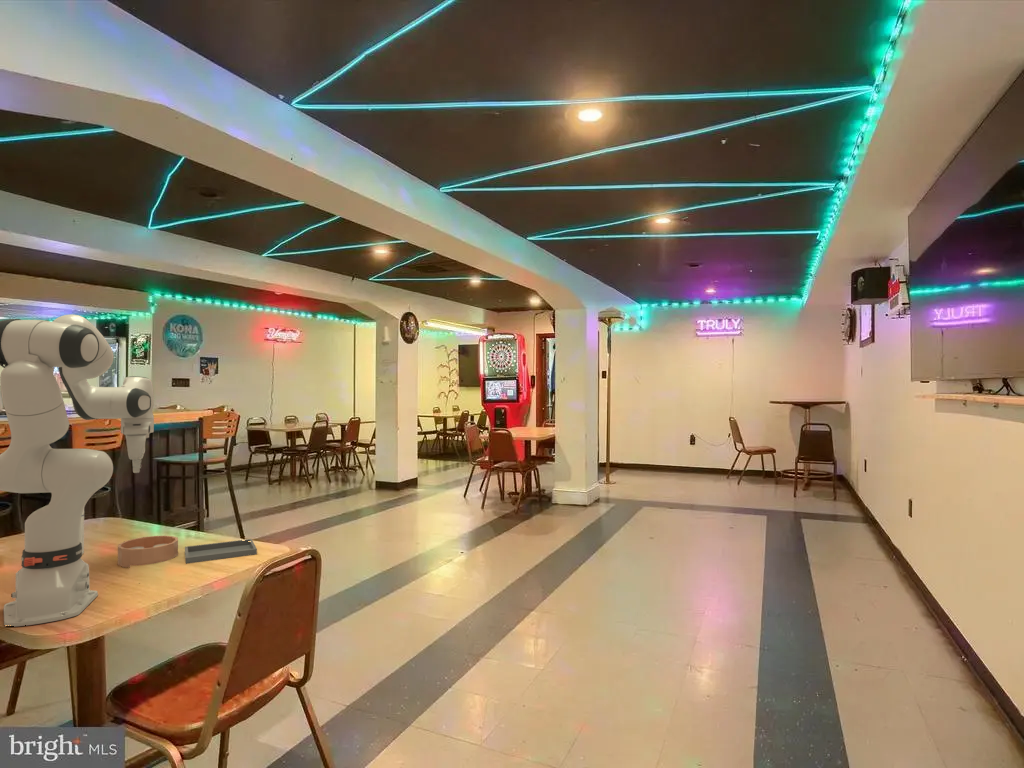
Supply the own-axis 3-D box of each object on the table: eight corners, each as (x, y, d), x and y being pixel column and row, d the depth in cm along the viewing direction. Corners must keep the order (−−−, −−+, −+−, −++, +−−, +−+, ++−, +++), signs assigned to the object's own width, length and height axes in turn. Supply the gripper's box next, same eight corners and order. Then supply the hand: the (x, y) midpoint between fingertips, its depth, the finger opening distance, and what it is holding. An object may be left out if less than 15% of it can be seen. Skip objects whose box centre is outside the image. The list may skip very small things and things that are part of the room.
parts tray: (256, 556, 188) (256, 548, 188) (185, 566, 177) (185, 557, 177) (251, 546, 200) (251, 538, 200) (184, 554, 189) (184, 546, 189)
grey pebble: (143, 559, 181) (143, 549, 181) (126, 561, 179) (126, 551, 179) (144, 555, 185) (144, 545, 185) (127, 557, 182) (127, 547, 182)
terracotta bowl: (178, 562, 181) (178, 545, 181) (116, 570, 172) (116, 552, 172) (177, 549, 194) (177, 533, 194) (119, 556, 186) (120, 539, 186)
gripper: (127, 425, 192) (127, 467, 192) (123, 429, 175) (123, 475, 175) (150, 425, 196) (149, 466, 196) (148, 429, 178) (147, 474, 178)
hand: (137, 470), depth 185 cm, fingers open, 8 cm apart
